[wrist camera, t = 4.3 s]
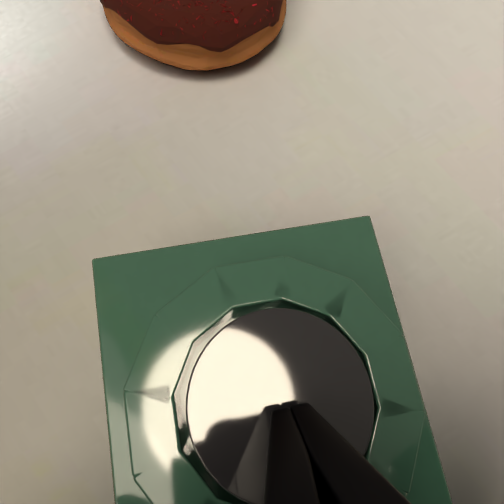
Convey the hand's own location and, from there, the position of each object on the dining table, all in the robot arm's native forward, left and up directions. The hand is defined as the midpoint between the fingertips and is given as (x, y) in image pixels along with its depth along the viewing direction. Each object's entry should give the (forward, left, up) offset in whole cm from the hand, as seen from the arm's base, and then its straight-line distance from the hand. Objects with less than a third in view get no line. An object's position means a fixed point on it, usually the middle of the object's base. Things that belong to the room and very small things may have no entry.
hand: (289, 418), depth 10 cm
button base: (0, 0, -9) cm, 9 cm away
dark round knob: (0, 0, -2) cm, 2 cm away
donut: (+18, -10, -9) cm, 23 cm away
